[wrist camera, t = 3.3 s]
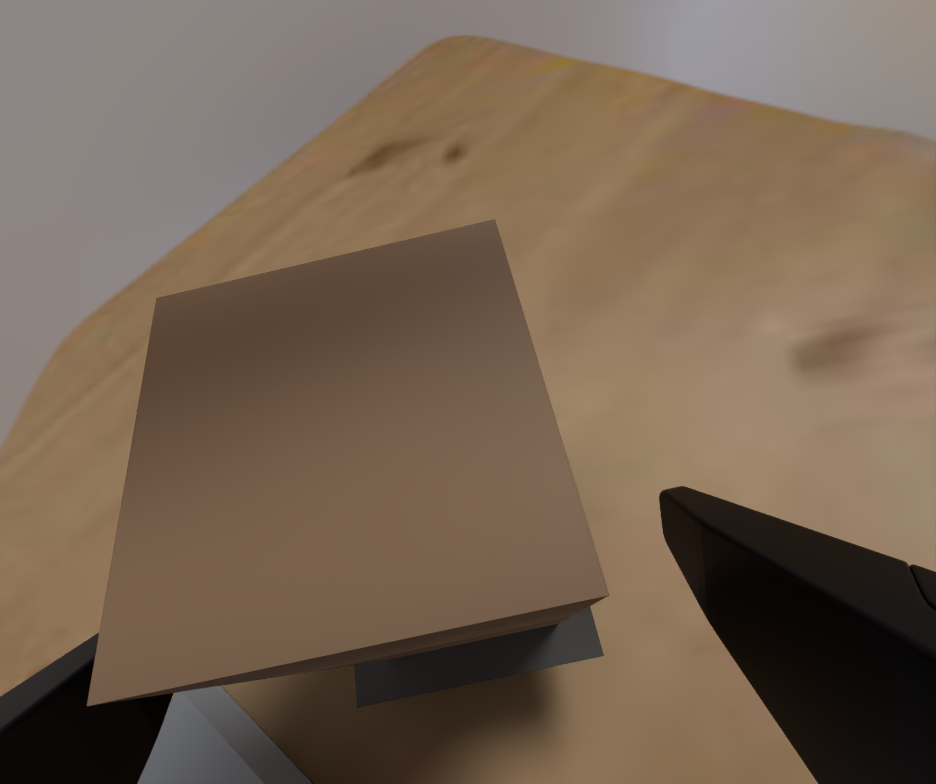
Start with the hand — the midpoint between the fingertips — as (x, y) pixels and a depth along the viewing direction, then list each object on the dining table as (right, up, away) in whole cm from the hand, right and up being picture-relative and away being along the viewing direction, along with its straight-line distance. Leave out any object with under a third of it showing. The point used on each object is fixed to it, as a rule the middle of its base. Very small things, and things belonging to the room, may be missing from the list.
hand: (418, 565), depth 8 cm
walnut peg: (+1, -3, +8) cm, 9 cm away
